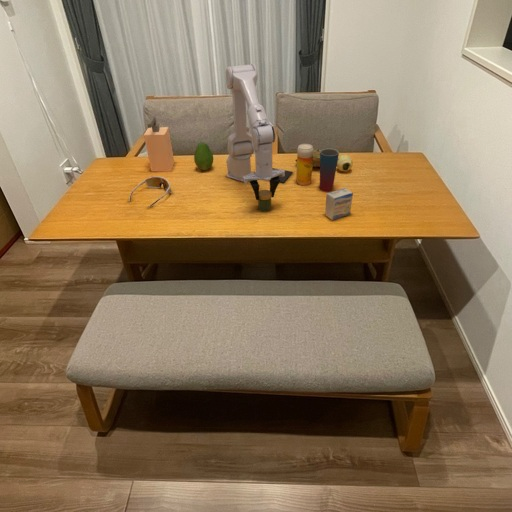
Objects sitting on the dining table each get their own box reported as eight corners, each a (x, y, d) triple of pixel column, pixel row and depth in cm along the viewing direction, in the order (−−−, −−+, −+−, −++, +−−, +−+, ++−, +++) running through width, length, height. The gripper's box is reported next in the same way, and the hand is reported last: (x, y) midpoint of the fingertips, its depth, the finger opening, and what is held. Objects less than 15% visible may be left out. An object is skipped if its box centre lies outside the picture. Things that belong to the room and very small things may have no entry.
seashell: (330, 174, 162) (335, 151, 156) (296, 172, 161) (299, 149, 155) (326, 163, 171) (330, 141, 165) (293, 161, 170) (296, 139, 164)
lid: (260, 201, 134) (260, 197, 134) (255, 194, 138) (255, 191, 138) (273, 198, 136) (273, 195, 135) (268, 192, 140) (268, 188, 139)
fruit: (206, 163, 171) (203, 137, 164) (218, 168, 167) (215, 141, 160) (192, 169, 167) (188, 142, 160) (203, 175, 163) (200, 147, 155)
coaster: (261, 179, 158) (261, 177, 158) (270, 169, 165) (270, 167, 165) (283, 183, 155) (283, 182, 154) (292, 173, 162) (292, 171, 161)
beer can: (310, 186, 152) (313, 150, 143) (295, 185, 153) (296, 149, 144) (311, 179, 157) (314, 143, 147) (297, 178, 158) (298, 142, 149)
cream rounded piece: (335, 167, 165) (336, 152, 161) (351, 167, 164) (353, 152, 160) (336, 173, 160) (337, 158, 156) (352, 174, 159) (354, 158, 155)
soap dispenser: (155, 163, 173) (145, 113, 160) (174, 162, 173) (166, 113, 159) (149, 176, 163) (137, 124, 150) (169, 175, 163) (159, 123, 149)
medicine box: (331, 220, 132) (334, 198, 127) (324, 214, 135) (326, 193, 130) (350, 214, 135) (353, 192, 130) (342, 209, 138) (345, 187, 133)
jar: (255, 209, 140) (255, 195, 136) (262, 203, 143) (262, 189, 139) (266, 213, 137) (266, 199, 134) (273, 207, 140) (273, 193, 137)
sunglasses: (178, 190, 152) (175, 180, 148) (154, 213, 143) (150, 202, 140) (151, 183, 158) (147, 172, 154) (126, 204, 149) (122, 194, 145)
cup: (337, 186, 151) (341, 149, 142) (332, 194, 147) (336, 157, 137) (320, 183, 154) (323, 147, 145) (315, 190, 149) (317, 154, 140)
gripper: (246, 170, 124) (248, 206, 133) (288, 162, 128) (287, 198, 136) (240, 161, 129) (242, 197, 138) (280, 154, 133) (280, 190, 141)
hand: (264, 197), depth 137 cm, fingers closed on lid, 5 cm apart
